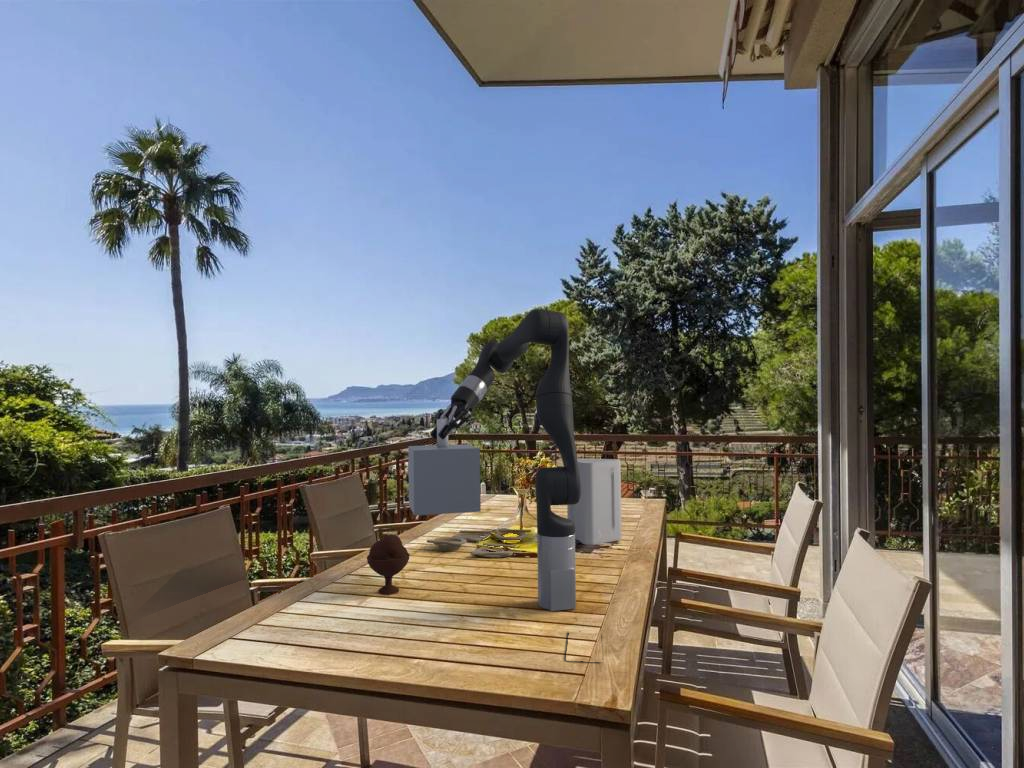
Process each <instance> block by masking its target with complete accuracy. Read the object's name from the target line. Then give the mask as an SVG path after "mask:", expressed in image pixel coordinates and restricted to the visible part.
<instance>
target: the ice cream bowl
mask: <svg viewBox="0 0 1024 768" xmlns="http://www.w3.org/2000/svg"><path fill="white" fill-rule="evenodd" d="M410 554H411V553H410V552H408V550H407V548H406V547H405V546H404V545H403V542H402V539H401V538H400V537H399V536H398V535H397V534H386V535H385V536H384V537H383V538H382V539H379V540H378V541H375V542H374V543H373V544H372V545H371V547H370V548H369V554H368V555H367V556H366V560H367V564H368V566H369V568H370V569H371V570H372V571H374V573H376V574H378V575H379V576H382V577H384V583H385V584H384V585H383V586H381V587H380V588H379V589H378V590H377V593H378V594H379V595H382V596H391V595H395V594H398V593H399V592H400V588H399V587H397V586H395V585H393V577H394V576H395V575H398V574H399V573H400V572H402V570H404V568H405V567H406V566H408V565H407V564H408V563H409V560H410V556H411V555H410Z"/></svg>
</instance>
